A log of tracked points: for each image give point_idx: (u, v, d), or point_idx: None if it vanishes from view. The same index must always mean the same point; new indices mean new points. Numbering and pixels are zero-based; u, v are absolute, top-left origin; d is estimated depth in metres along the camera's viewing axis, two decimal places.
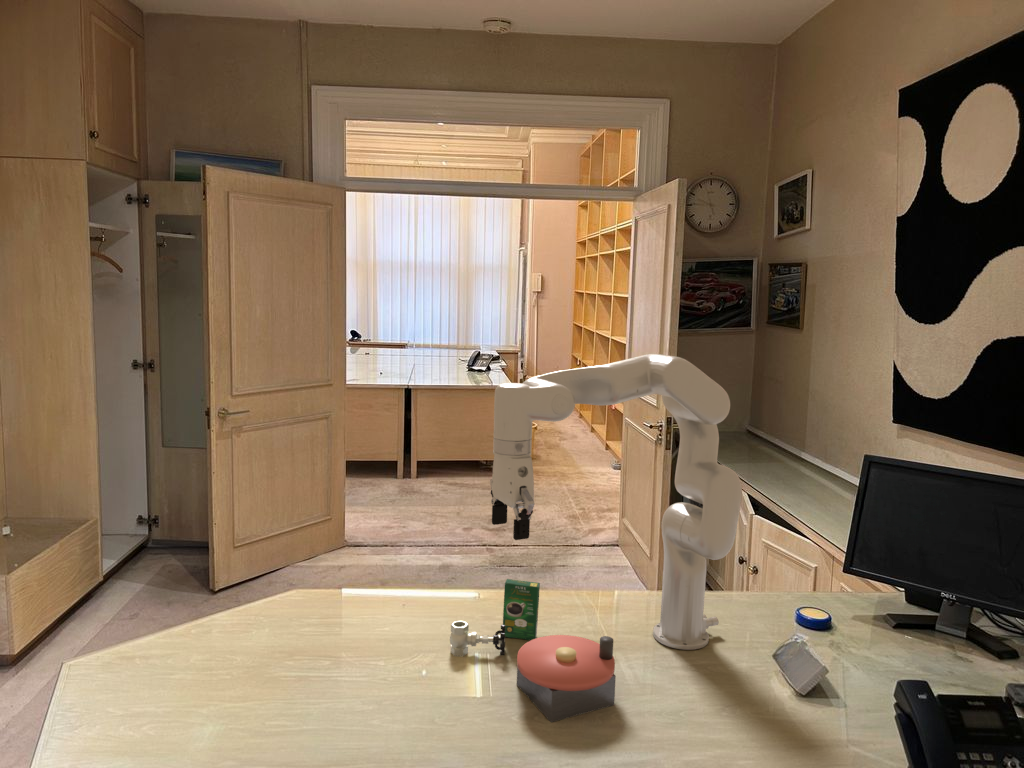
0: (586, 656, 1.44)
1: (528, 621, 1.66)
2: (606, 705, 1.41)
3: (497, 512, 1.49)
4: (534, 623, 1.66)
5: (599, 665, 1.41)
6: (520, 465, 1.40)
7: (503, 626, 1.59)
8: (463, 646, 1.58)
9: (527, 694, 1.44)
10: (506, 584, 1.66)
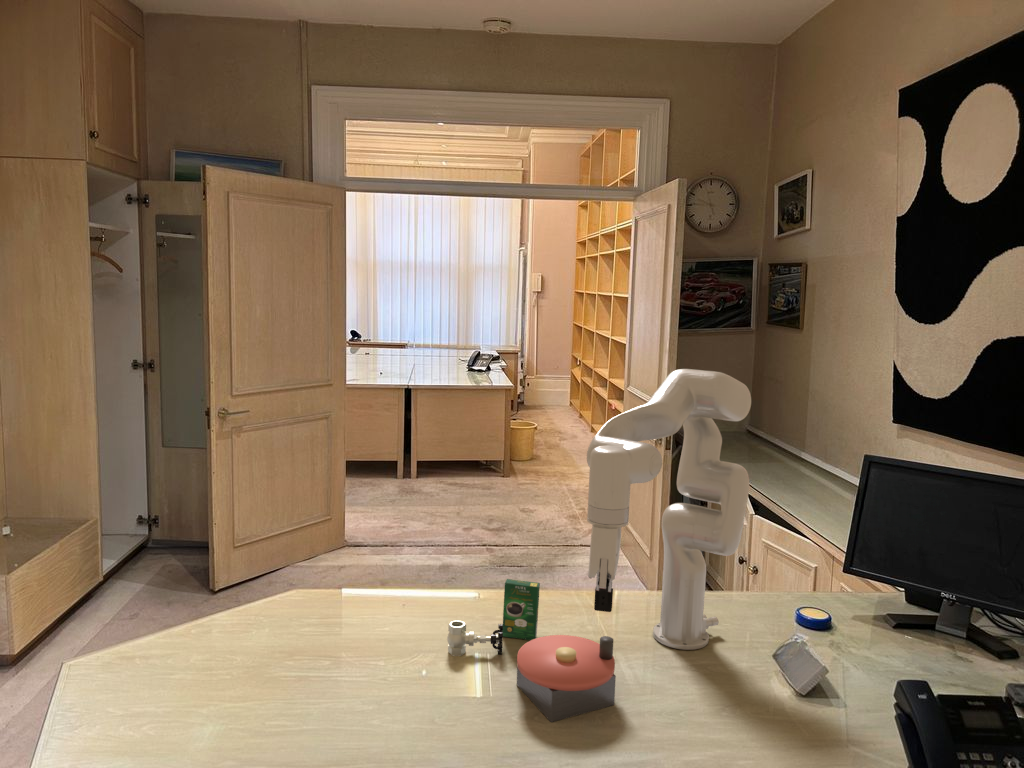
0: (586, 656, 1.44)
1: (528, 621, 1.66)
2: (606, 705, 1.41)
3: None
4: (534, 623, 1.66)
5: (599, 665, 1.41)
6: None
7: (501, 625, 1.59)
8: (461, 646, 1.58)
9: (527, 694, 1.44)
10: (506, 584, 1.66)
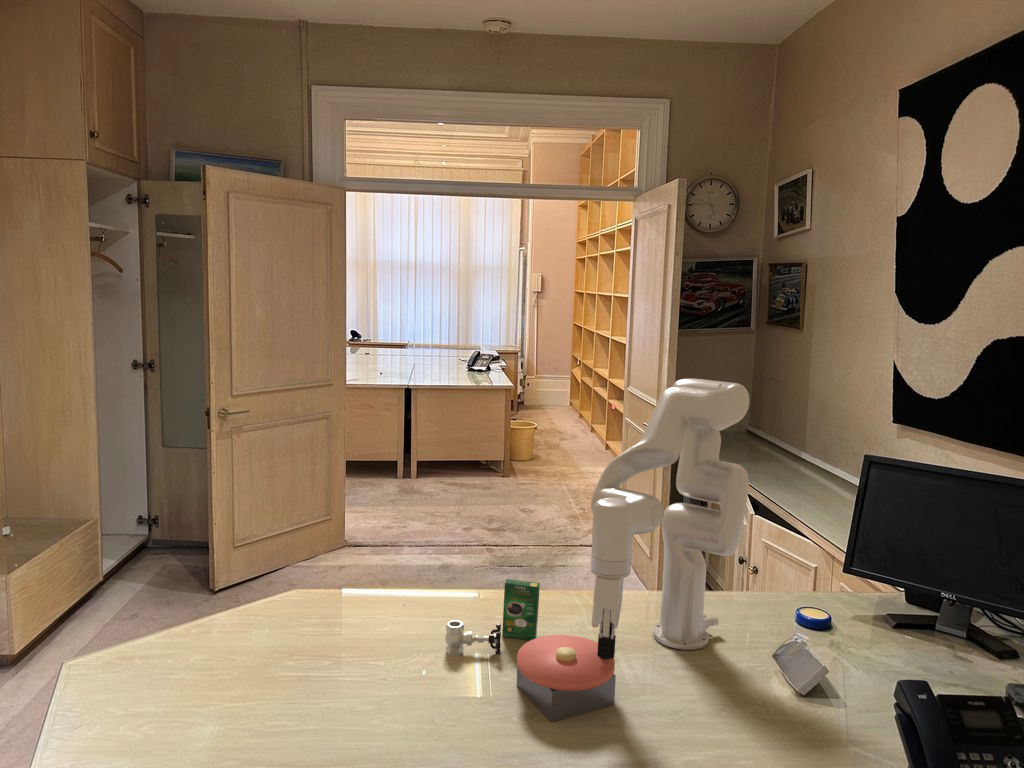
0: (586, 656, 1.44)
1: (528, 621, 1.66)
2: (606, 705, 1.41)
3: None
4: (534, 623, 1.66)
5: (599, 665, 1.41)
6: None
7: (498, 625, 1.59)
8: (459, 645, 1.58)
9: (527, 694, 1.44)
10: (506, 584, 1.66)
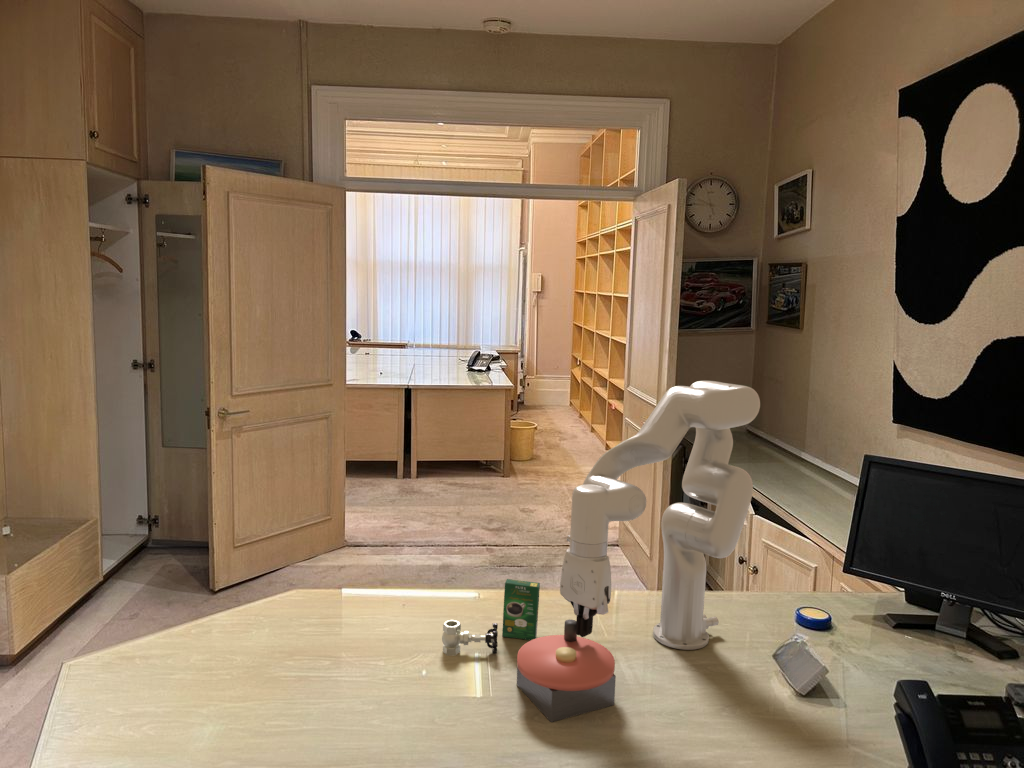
0: (567, 647, 1.48)
1: (528, 621, 1.66)
2: (606, 705, 1.41)
3: None
4: (534, 623, 1.66)
5: (585, 645, 1.49)
6: None
7: (495, 624, 1.60)
8: (455, 645, 1.58)
9: (527, 694, 1.44)
10: (506, 584, 1.66)
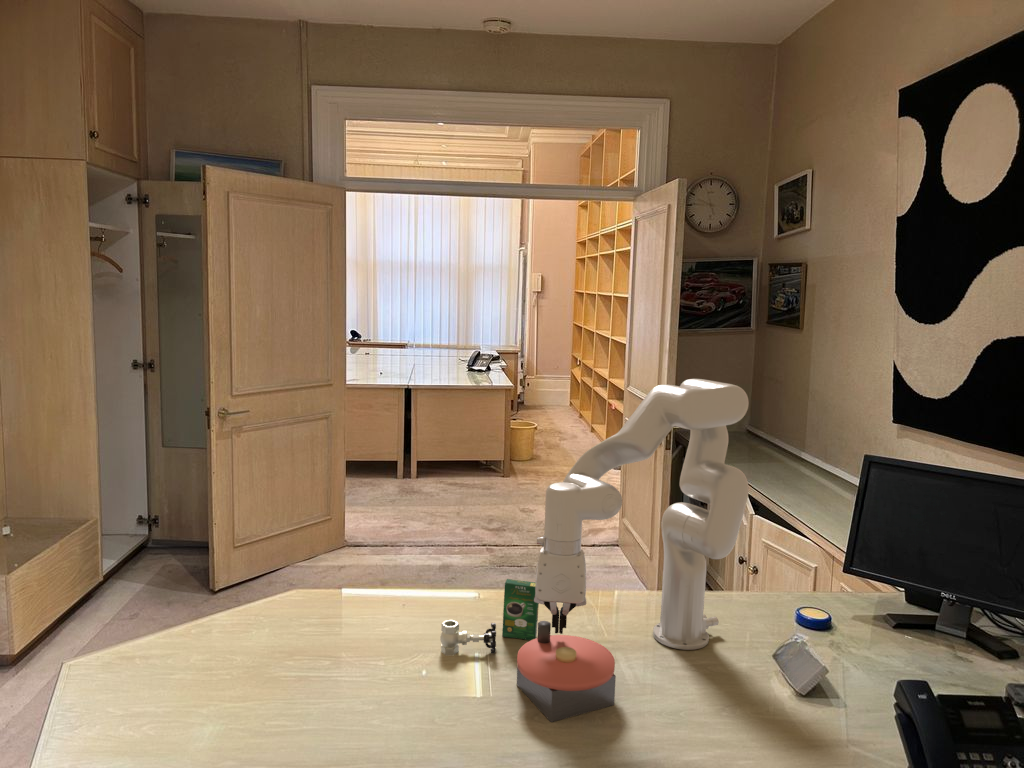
0: (553, 648, 1.47)
1: (528, 621, 1.66)
2: (606, 705, 1.41)
3: None
4: (534, 623, 1.66)
5: (562, 641, 1.50)
6: None
7: (494, 624, 1.60)
8: (454, 645, 1.59)
9: (527, 694, 1.44)
10: (506, 584, 1.66)
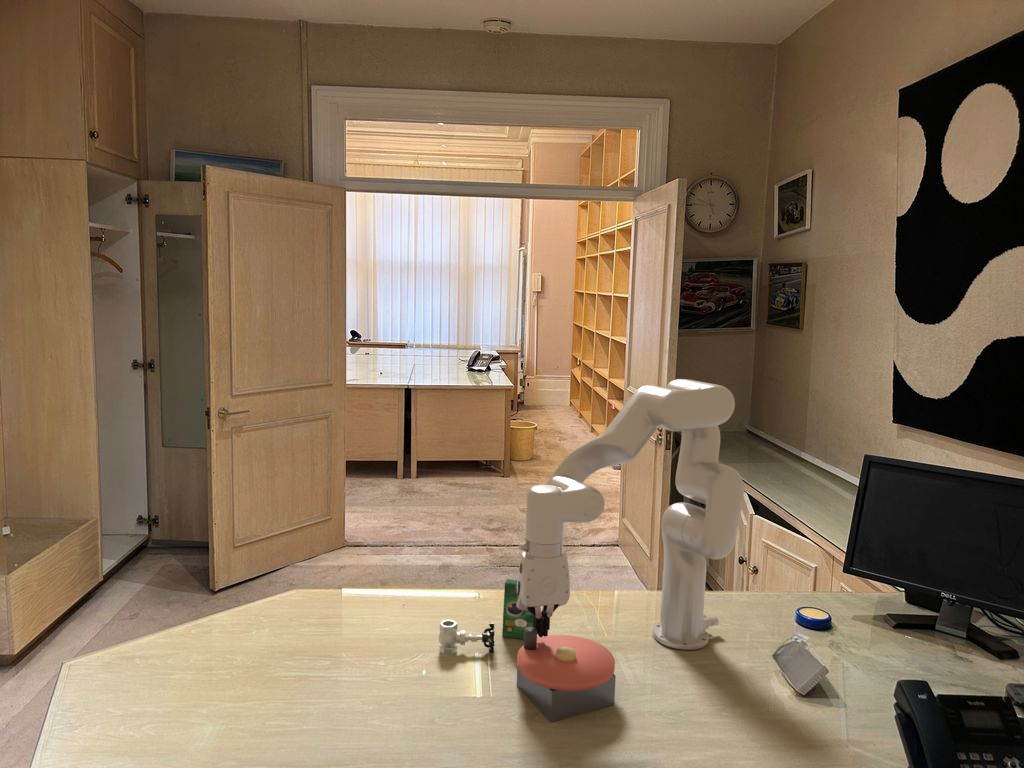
0: (546, 652, 1.45)
1: (528, 621, 1.66)
2: (606, 705, 1.41)
3: None
4: None
5: (546, 642, 1.49)
6: (521, 561, 1.47)
7: (492, 624, 1.60)
8: (452, 645, 1.59)
9: (527, 694, 1.44)
10: (506, 584, 1.66)
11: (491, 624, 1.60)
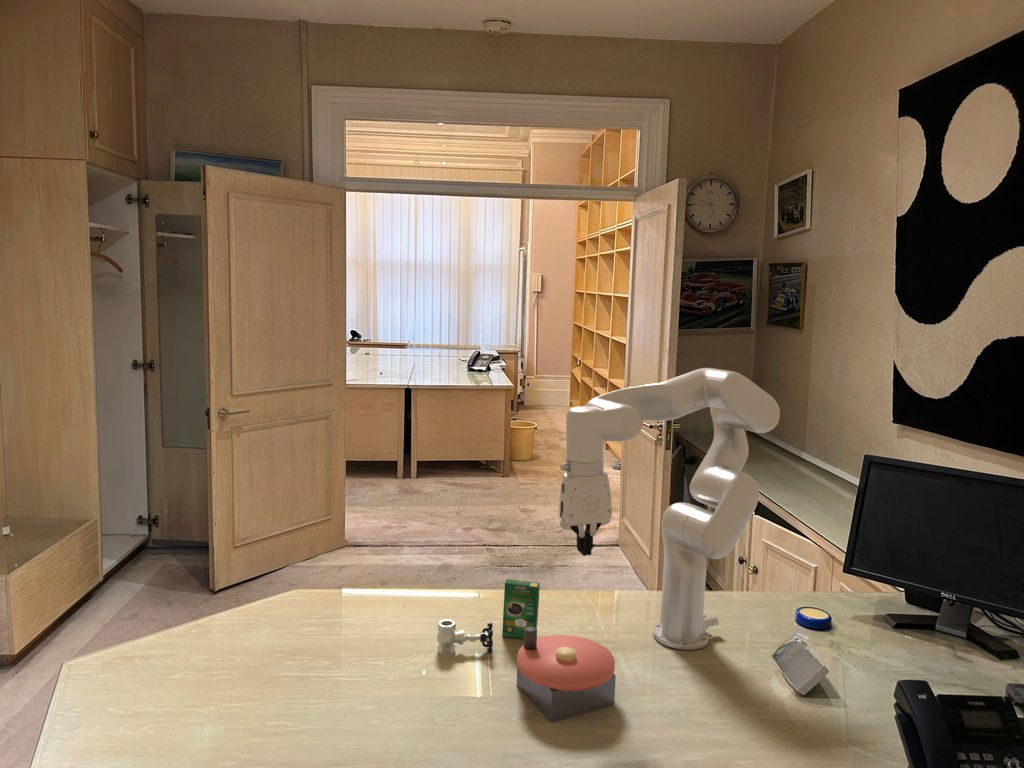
0: (546, 652, 1.45)
1: (528, 621, 1.66)
2: (606, 705, 1.41)
3: None
4: (534, 623, 1.66)
5: (546, 642, 1.49)
6: (563, 481, 1.49)
7: (490, 623, 1.60)
8: (451, 645, 1.59)
9: (527, 694, 1.44)
10: (506, 584, 1.66)
11: (489, 624, 1.60)
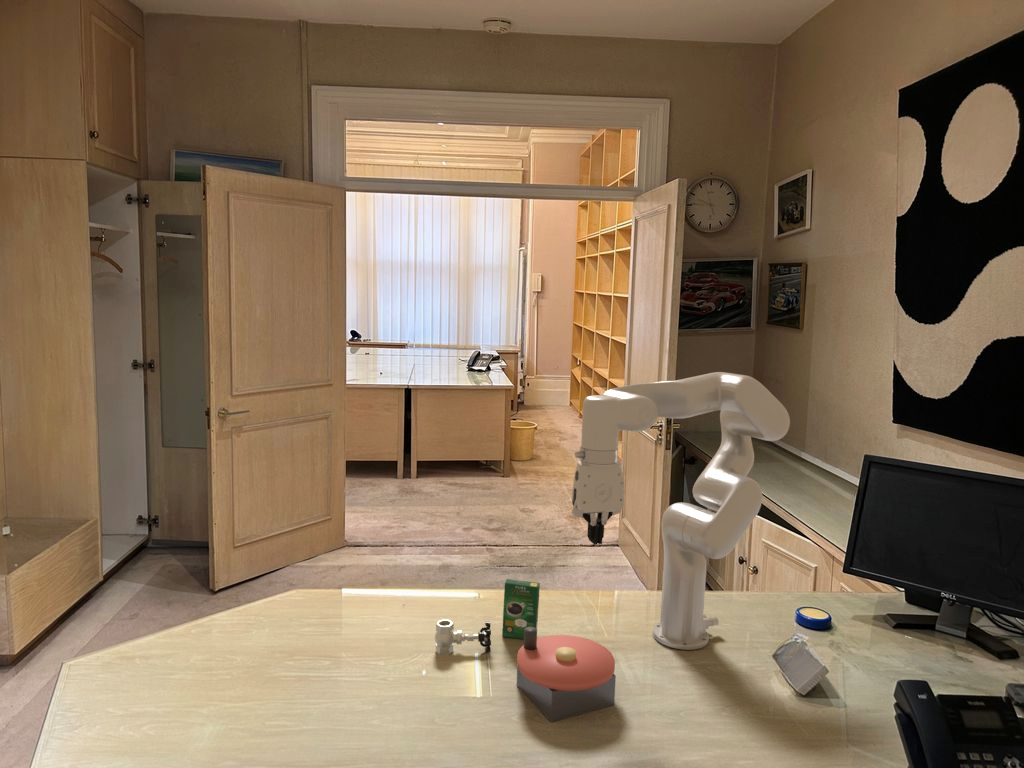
0: (546, 652, 1.45)
1: (528, 621, 1.66)
2: (606, 705, 1.41)
3: None
4: (534, 623, 1.66)
5: (546, 642, 1.49)
6: (577, 469, 1.50)
7: (488, 623, 1.60)
8: (449, 645, 1.59)
9: (527, 694, 1.44)
10: (506, 584, 1.66)
11: (487, 623, 1.60)
